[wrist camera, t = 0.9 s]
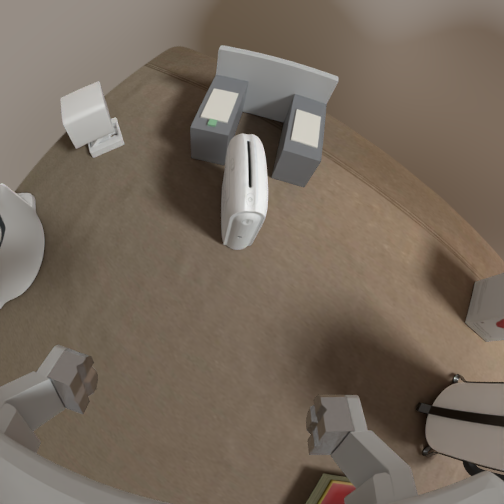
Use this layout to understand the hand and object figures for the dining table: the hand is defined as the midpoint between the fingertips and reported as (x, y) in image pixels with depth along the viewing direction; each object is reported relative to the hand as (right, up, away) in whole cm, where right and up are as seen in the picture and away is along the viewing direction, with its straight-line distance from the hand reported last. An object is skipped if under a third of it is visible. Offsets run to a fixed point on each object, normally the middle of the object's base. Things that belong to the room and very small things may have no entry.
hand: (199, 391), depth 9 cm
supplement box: (+45, -7, +33) cm, 56 cm away
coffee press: (+34, -23, +26) cm, 49 cm away
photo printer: (0, +10, +30) cm, 32 cm away
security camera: (-22, +22, +30) cm, 44 cm away
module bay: (+2, +22, +34) cm, 41 cm away
